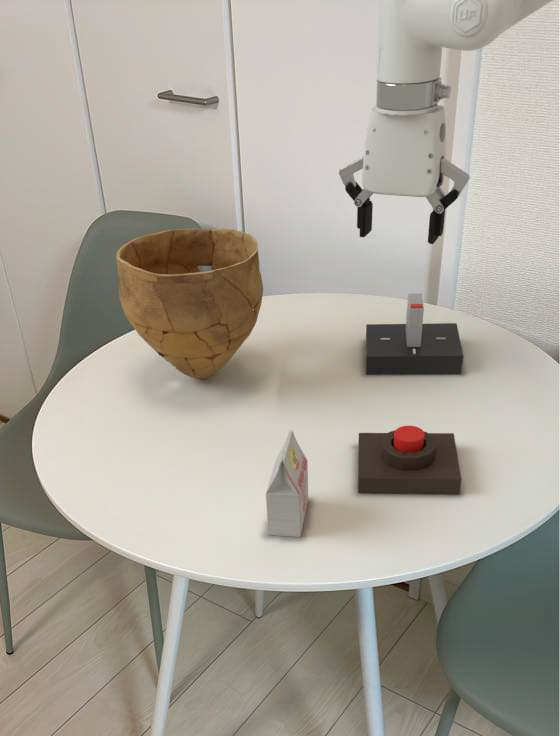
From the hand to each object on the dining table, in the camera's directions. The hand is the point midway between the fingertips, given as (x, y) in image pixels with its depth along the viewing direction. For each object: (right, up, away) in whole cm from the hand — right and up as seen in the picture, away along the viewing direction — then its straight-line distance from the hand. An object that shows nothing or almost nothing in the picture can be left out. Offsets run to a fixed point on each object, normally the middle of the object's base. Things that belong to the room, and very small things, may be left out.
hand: (398, 237), depth 104 cm
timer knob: (+4, -11, +11) cm, 16 cm away
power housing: (-1, -33, -10) cm, 34 cm away
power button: (-1, -30, -12) cm, 32 cm away
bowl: (-28, -17, +12) cm, 35 cm away
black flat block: (+4, -13, +13) cm, 19 cm away
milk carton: (-16, -39, -15) cm, 45 cm away
